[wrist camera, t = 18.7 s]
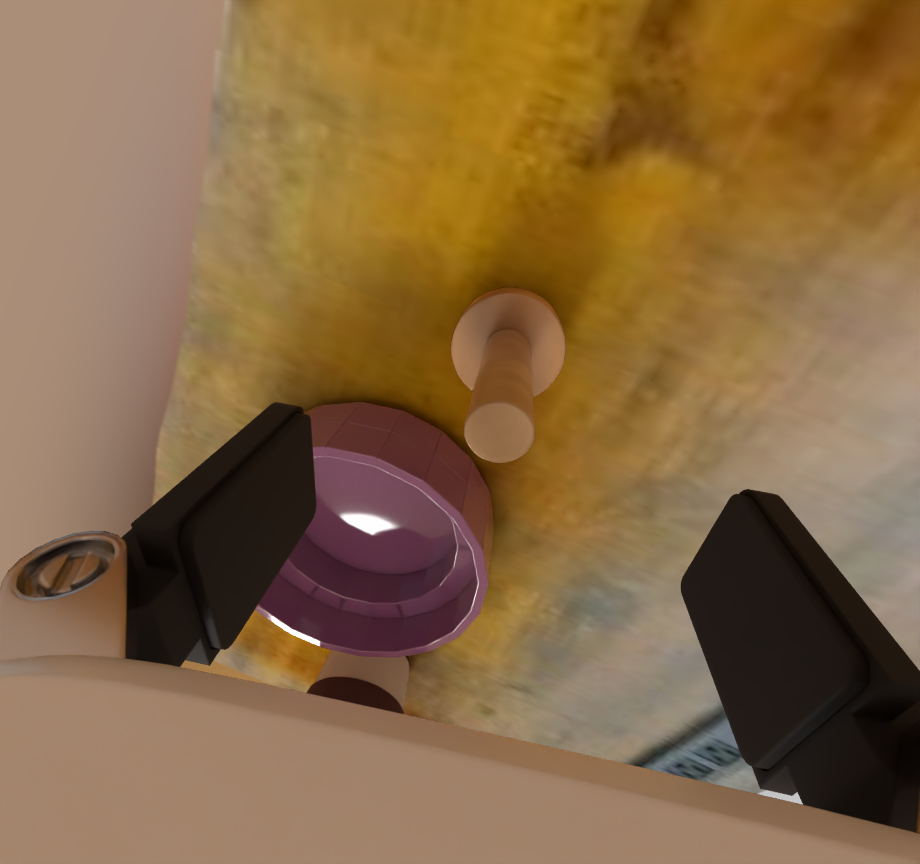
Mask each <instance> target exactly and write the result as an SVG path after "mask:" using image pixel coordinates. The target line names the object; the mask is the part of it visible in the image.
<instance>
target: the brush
mask: <svg viewBox="0 0 920 864" xmlns="http://www.w3.org/2000/svg"><path fill="white" fill-rule="evenodd" d="M565 353H566V341H565V335H564V332H563V328H562V325H561V322H560V320H559V317H558V315H557V314H556V312H555V310H554V309H553V308H552V307H551V305H550V304H549V303H548V302H547V301H546V300H544V299H543V298H542V297H540V296H539V295H537V294H535V293H533V292H531V291H528V290H525V289H520V288H511V287H508V288H499V289H495V290H492V291H489V292H487V293H485V294H483V295H481V296H480V297H478V298H477V299H475V300H474V301H473V302H472V303H471V304H470V305H469V306H468V307H467V308H466V310H465V311H464V312H463V314H462V316H461V317H460V319H459V321H458V323H457V325H456V328H455V330H454V333H453V337H452V343H451V354H452V360H453V364H454V367H455V370H456V372H457V374H458V376H459V377H460V379H461V380H462V381H463V383H464V384H465V385H466V386H467V387H468V388H469V389H470V390H471V391H473V394H472V397H471V401H470V405H469V409H468V413H467V417H466V421H465V425H464V436H465V440H466V442H467V444H468V446H469V447H470V449H471V450H472V451H473V452H474V453H475V454H476V455H478V456H479V457H481V458H483V459H485V460H487V461H491V462H497V463H504V462H510V461H513V460H516V459H518V458H520V457H521V456H522V455H524V454H525V453H526V452H527V451H528V450H529V449H530V447H531V445H532V443H533V441H534V438H535V420H534V400H533V397H535V396H537V395H539V394H541V393H542V392H543V391H545V390H546V389H547V388H548V387H549V386H550V385H551V384H552V383H553V382H554V380H555V379H556V378H557V376H558V374H559V373H560V371H561V368H562V366H563V363H564V359H565Z"/></svg>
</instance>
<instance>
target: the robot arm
mask: <svg viewBox="0 0 920 864" xmlns="http://www.w3.org/2000/svg"><path fill="white" fill-rule="evenodd" d="M315 512H316V489H315V474H314V459H313V444H312V429H311V418H310V416H309V415H307V414H304V411H303V409H302V408H301V407H299V406H294V405H288V404H283V403H273V404H271V405H270V406H269V407H268V408H266V409H265V410H264V411H263V412H262V413H261V414H259V415H258V416H257V417H256V418H255V419H254V420H252V421H251V422H250V423H249V424H248V425H247V426H245V427H244V428H243V429H242V430H241V431H240V432H238V433H237V434H236V435H235V436H234V437H232V438H231V439H230V440H229V441H228V442H227V443H225V444H224V445H223V446H222V447H221V448H220V449H218V450H217V451H216V452H215V453H214V454H213V455H211V456H210V457H209V458H208V459H207V460H206V461H204V462H203V463H202V464H201V465H200V466H198V467H197V468H196V469H195V470H194V471H193V472H191V473H190V474H189V475H188V476H187V477H186V478H184V479H183V480H182V481H181V482H180V483H179V484H177V485H176V486H175V487H174V488H173V489H172V490H170V491H169V492H168V493H167V494H166V495H165V496H163V497H162V498H161V499H160V500H159V501H157V502H156V503H155V504H154V505H153V506H152V507H150V508H149V509H148V510H147V511H146V512H145V513H143V514H142V515H141V516H140V517H139V518H138V519H136V520H135V521H134V522H133V523H132V524H131V526H132V529H131V530H130V531H128V533H126V534H125V535H124V536H123V537H122V538H121V537H119V536H118V535H116V534H113V533H110V532H106V531H88V532H81V533H75V534H71V535H67V536H65V537H61V538H58V539H54V540H52V541H50V542H48V543H46V544H44V545H42V546H40V547H37V548H36V549H34V550H33V551H32V552H30V553H29V554H27V555H25V556H24V557H22V558H21V559H20V560H19V561H18V562H17V563H16V564H15V565H14V566H13V567H12V568H11V569H10V570H8V572H7V574H6V576H5V577H4V579H3V581H2V583H1V586H0V864H920V671H919V670H918V668H917V667H916V666H915V665H914V663H913V662H912V661H911V660H910V658H909V657H908V656H907V655H906V653H905V652H904V651H903V650H902V648H901V647H900V646H899V644H898V643H897V642H896V641H895V639H894V638H893V637H892V636H891V634H890V633H889V632H888V631H887V629H886V628H885V627H884V626H883V624H882V623H881V622H880V621H879V619H878V618H877V617H876V616H875V614H874V613H873V612H872V611H871V609H870V608H869V607H868V606H867V604H866V603H865V602H864V601H863V599H862V598H861V597H860V596H859V594H858V593H857V592H856V591H855V589H854V588H853V587H852V586H851V584H850V583H849V582H848V581H847V579H846V578H845V577H844V576H843V574H842V573H841V572H840V571H839V569H838V568H837V567H836V566H835V564H834V563H833V562H832V561H831V559H830V558H829V557H828V556H827V554H826V553H825V552H824V551H823V549H822V548H821V547H820V546H819V544H818V543H817V542H816V541H815V539H814V538H813V537H812V536H811V534H810V533H809V532H808V531H807V529H806V528H805V527H804V526H803V524H802V523H801V522H800V521H799V519H798V518H797V517H796V516H795V514H794V513H793V512H792V511H791V509H790V508H789V507H788V506H787V504H786V503H785V502H784V501H783V499H782V498H781V497H779V496H778V495H775V494H771V493H766V492H760V491H755V490H749V489H747V490H743V491H742V492H740V493H739V494H735V495H733V496H731V498H730V499H729V500H728V502H727V504H726V506H725V507H724V509H723V511H722V512H721V514H720V516H719V517H718V519H717V521H716V522H715V524H714V526H713V527H712V529H711V531H710V532H709V534H708V536H707V537H706V539H705V541H704V542H703V544H702V546H701V547H700V549H699V551H698V552H697V554H696V556H695V557H694V559H693V561H692V562H691V564H690V566H689V567H688V569H687V571H686V572H685V574H684V576H683V578H682V581H681V593H682V596H683V599H684V602H685V605H686V607H687V610H688V613H689V615H690V618H691V621H692V623H693V626H694V629H695V632H696V634H697V637H698V640H699V642H700V645H701V648H702V651H703V653H704V656H705V659H706V661H707V664H708V667H709V670H710V672H711V675H712V678H713V680H714V683H715V686H716V688H717V691H718V694H719V697H720V699H721V702H722V705H723V707H724V710H725V713H726V716H727V718H728V721H729V724H730V726H731V729H732V732H733V734H734V737H735V740H736V743H737V745H738V748H739V751H740V753H741V755H742V757H743V759H744V760H745V762H746V763H747V764H749V765H750V766H752V768H753V771H754V774H755V776H756V779H757V781H758V784H759V787H760V789H765V790H769V791H774V792H778V793H782V794H787V795H791V796H792V795H794V794H795V793H796V792H798V794H799V796H800V799H801V801H802V803H803V805H802V804H798V803H793V802H789V801H785V800H780V799H776V798H772V797H767V796H763V795H759V794H754V793H750V792H746V791H741V790H737V789H732V788H728V787H724V786H719V785H715V784H711V783H706V782H702V781H698V780H693V779H689V778H685V777H680V776H676V775H671V774H667V773H663V772H658V771H654V770H650V769H645V768H641V767H637V766H632V765H628V764H624V763H619V762H615V761H610V760H606V759H601V758H597V757H592V756H588V755H584V754H579V753H575V752H570V751H566V750H561V749H557V748H552V747H548V746H544V745H539V744H535V743H530V742H526V741H521V740H517V739H512V738H508V737H503V736H499V735H494V734H490V733H485V732H481V731H476V730H472V729H467V728H463V727H459V726H454V725H450V724H445V723H441V722H436V721H432V720H427V719H423V718H418V717H414V716H409V715H404V714H400V713H395V712H391V711H386V710H382V709H377V708H372V707H368V706H363V705H359V704H354V703H349V702H345V701H340V700H336V699H331V698H327V697H322V696H317V695H313V694H308V693H304V692H299V691H295V690H290V689H285V688H281V687H276V686H272V685H267V684H262V683H257V682H252V681H247V680H242V679H237V678H232V677H227V676H222V675H217V674H212V673H207V672H202V671H197V670H191V669H187V668H181V667H180V666H181V665H182V663H183V662H184V661H185V660H187V661H191V662H196V663H200V664H205V665H209V666H210V664H211V663H212V661H213V660H214V658H215V657H216V655H217V654H218V652H219V651H220V649H224V650H225V649H228V648H229V647H230V646H231V645H232V644H233V642H234V641H235V639H236V638H237V636H238V635H239V633H240V632H241V630H242V628H243V627H244V625H245V624H246V622H247V621H248V619H249V618H250V616H251V615H252V613H253V611H254V610H255V608H256V607H257V605H258V604H259V602H260V601H261V599H262V597H263V596H264V594H265V593H266V591H267V590H268V588H269V587H270V585H271V584H272V582H273V580H274V579H275V577H276V576H277V574H278V573H279V571H280V570H281V568H282V567H283V565H284V563H285V562H286V560H287V559H288V557H289V556H290V554H291V553H292V551H293V550H294V548H295V546H296V545H297V543H298V542H299V540H300V539H301V537H302V536H303V534H304V533H305V531H306V529H307V528H308V526H309V525H310V523H311V522H312V520H313V518H314V515H315Z"/></svg>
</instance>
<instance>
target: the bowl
mask: <svg viewBox="0 0 920 864" xmlns="http://www.w3.org/2000/svg"><path fill="white" fill-rule="evenodd" d="M304 414H307V415H309V416H310V418H311V429H312V444H313V459H314V474H315V489H316V512H315V515H314V518H313V520H312V522H311V523H310V525H309V526H308V528H307V529H306V531H305V533H304V534H303V536H302V537H301V539H300V540H299V542H298V543H297V545H296V546H295V548H294V550H293V551H292V553H291V554H290V556H289V557H288V559H287V560H286V562H285V563H284V565H283V567H282V568H281V570H280V571H279V573H278V574H277V576H276V577H275V579H274V580H273V582H272V584H271V585H270V587H269V588H268V590H267V591H266V593H265V594H264V596H263V597H262V599H261V601H260V602H259V604H258V605H257V607H256V608H255V610H256V611H257V612H259V613H260V614H262V615H263V616H265V617H266V618H268V619H269V620H270V621H272V622H273V623H275V624H276V625H278V626H279V627H281V628H282V629H284V630H285V631H287V632H289V633H290V634H293V635H295V636H297V637H300V638H302V639H304V640H306V641H309V642H311V643H313V644H316V645H318V646H320V647H323V648H326V649H330V650H335V651H339V652H343V653H348V654H352V655H356V656H362V657H393V658H397V657H403V656H408V655H414V654H419V653H424V652H429V651H433V650H434V649H436V648H438V647H440V646H442V645H444V644H446V643H448V642H450V641H452V640H454V639H456V638H458V637H459V636H460V635H461V634H462V633H463V632H464V631H465V630H466V629H467V627H468V626H469V625H470V624H471V623H472V622H473V621H474V620H475V618H476V617H477V616H478V615H479V614H480V612H481V608H482V605H483V601H484V598H485V595H486V591H487V588H488V584H489V573H490V562H491V551H492V540H493V529H494V518H493V511H492V504H491V497H490V491H489V489H488V487H487V485H486V484H485V482H484V480H483V478H482V476H481V474H480V473H479V471H478V469H477V467H476V465H475V463H474V462H473V460H472V459H471V458H470V457H469V456H468V455H467V454H466V453H465V452H464V451H463V450H462V449H461V448H460V447H459V446H458V445H457V444H456V443H454V442H453V441H452V440H451V439H450V438H449V437H448V436H447V435H446V434H445V433H444V432H442V431H441V430H440V429H438V428H436V427H434V426H432V425H430V424H428V423H426V422H424V421H422V420H421V419H419V418H417V417H415V416H413V415H411V414H409V413H407V412H405V411H403V410H398V409H394V408H389V407H384V406H379V405H375V404H370V403H365V402H352V403H341V404H329V405H319V406H317V407H315V408H313V409H311V410H308V411H306V412H304Z"/></svg>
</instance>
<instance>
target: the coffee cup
mask: <svg viewBox="0 0 920 864" xmlns="http://www.w3.org/2000/svg"><path fill="white" fill-rule="evenodd" d="M409 671H410V670H409V662H408V660H407V658H406V656H403V657H397V658H393V657H362V656H356V655H352V654H348V653H343V652H339V651H335V650H331V652H330V654H329V656H328V658H327V660H326V662H325V664H324V666H323V668H322V670H321V672H320V674H319V676H318V678H317V680H316V682H315V683H314V684H313V685H312V686H311V687H310V688H309V690H308V692H307V693H308V694H313V695H317V696H322V697H327V698H331V699H336V700H340V701H345V702H349V703H354V704H359V705H363V706H368V707H372V708H377V709H382V710H386V711H391V712H395V713H400V714H404V712H403V706H404V701H405V695H406V689H407V684H408V678H409Z"/></svg>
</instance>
